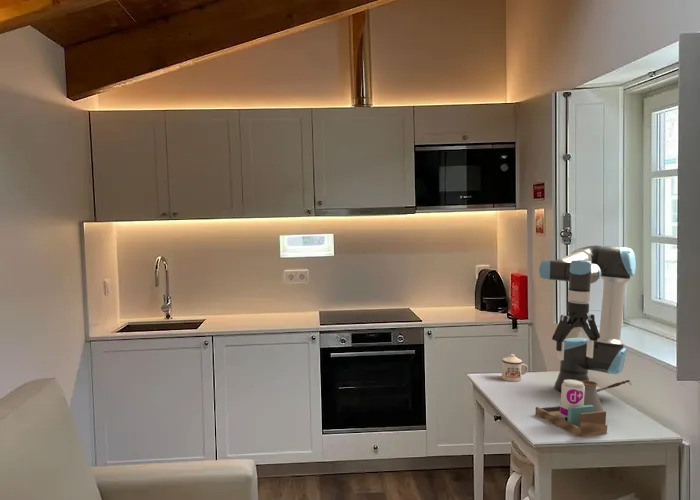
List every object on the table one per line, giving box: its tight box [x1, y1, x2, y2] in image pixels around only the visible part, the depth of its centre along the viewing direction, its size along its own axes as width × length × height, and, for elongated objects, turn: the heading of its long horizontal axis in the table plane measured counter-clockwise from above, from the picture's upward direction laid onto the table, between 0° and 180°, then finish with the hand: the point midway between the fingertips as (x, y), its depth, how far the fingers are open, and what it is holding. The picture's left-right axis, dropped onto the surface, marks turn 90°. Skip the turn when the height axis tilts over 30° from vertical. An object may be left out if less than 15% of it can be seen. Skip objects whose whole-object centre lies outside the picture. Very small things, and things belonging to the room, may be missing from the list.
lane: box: [534, 405, 608, 437], centre depth 242 cm, size 24×13×8 cm, turn 21°
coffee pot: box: [581, 379, 632, 412], centre depth 252 cm, size 21×12×15 cm, turn 83°
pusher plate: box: [567, 405, 594, 426], centre depth 237 cm, size 2×10×7 cm, turn 111°
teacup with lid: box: [501, 353, 529, 382], centre depth 301 cm, size 12×9×12 cm
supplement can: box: [559, 379, 585, 421], centre depth 241 cm, size 8×8×15 cm
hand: (574, 358), depth 241 cm, fingers open, 13 cm apart
